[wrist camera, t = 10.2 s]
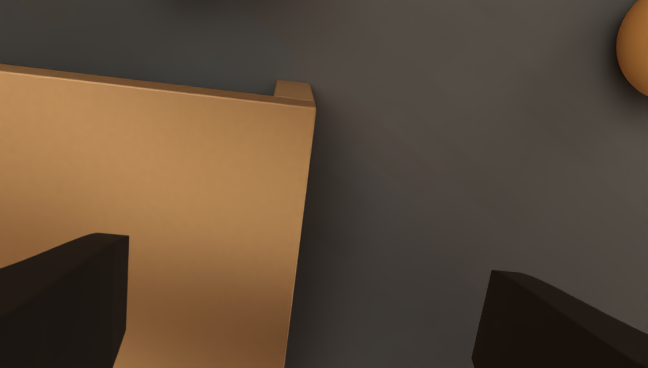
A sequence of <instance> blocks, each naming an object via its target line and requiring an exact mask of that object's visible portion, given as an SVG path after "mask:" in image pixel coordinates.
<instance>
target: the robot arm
mask: <svg viewBox="0 0 648 368" xmlns="http://www.w3.org/2000/svg"><path fill="white" fill-rule="evenodd" d="M128 262H129V235H119V234H108V233H98V232H97V233H92V234H88V235H85V236H82V237H79V238H77V239H74V240H72V241H69V242H67V243H64V244H62V245H59V246H57V247H54V248H52V249H49V250H47V251H44V252H42V253H40V254H37V255H35V256H32V257H30V258H27V259H25V260H22V261H19V262H17V263H14V264H11V265H8V266H6V267H3V268H0V368H113V366H114V363H115V360H116V358H117V355H118V352H119V349H120V346H121V343H122V340H123V337H124V335H125V332H126V319H127V290H128ZM472 361H473V365H474V368H648V334H646V333H644V332H642V331H640V330H638V329H636V328H633V327H631V326H629V325H627V324H625V323H623V322H621V321H619V320H617V319H615V318H613V317H611V316H609V315H607V314H605V313H604V312H602V311H600V310H598V309H596V308H594V307H592V306H590V305H588V304H586V303H584V302H583V301H581V300H579V299H577V298H575V297H573V296H571V295H569V294H567V293H565V292H563V291H562V290H560V289H558V288H556V287H554V286H552V285H550V284H548V283H545V282H543V281H541V280H539V279H537V278H534V277H532V276H529V275H526V274H523V273H518V272H507V271H497V270H492V271H491V275H490V280H489V284H488V288H487V293H486V297H485V301H484V306H483V310H482V314H481V319H480V323H479V327H478V332H477V336H476V341H475V345H474V349H473V354H472Z"/></svg>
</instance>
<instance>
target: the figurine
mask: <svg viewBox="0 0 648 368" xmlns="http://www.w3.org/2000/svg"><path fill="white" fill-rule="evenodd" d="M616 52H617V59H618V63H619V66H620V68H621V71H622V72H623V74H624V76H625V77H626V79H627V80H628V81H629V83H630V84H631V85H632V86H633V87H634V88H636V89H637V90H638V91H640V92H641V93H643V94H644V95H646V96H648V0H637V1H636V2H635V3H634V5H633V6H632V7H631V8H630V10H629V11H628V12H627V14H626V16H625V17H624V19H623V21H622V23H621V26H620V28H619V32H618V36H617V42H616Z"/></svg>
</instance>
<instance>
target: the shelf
mask: <svg viewBox="0 0 648 368" xmlns="http://www.w3.org/2000/svg"><path fill="white" fill-rule="evenodd" d="M315 117H316V106H315V102H314V98H313V94H312V90H311V86H310V84H308V83H300V82H292V81H284V80H277V81H276V85H275V91H274V96H268V95H260V94H251V93H243V92H234V91H226V90H217V89H209V88H201V87H192V86H184V85H175V84H167V83H158V82H150V81H142V80H133V79H125V78H116V77H108V76H99V75H91V74H83V73H74V72H66V71H57V70H49V69H40V68H32V67H23V66H15V65H7V64H0V268H3V267H6V266H8V265H11V264H14V263H17V262H19V261H22V260H25V259H27V258H30V257H32V256H35V255H37V254H40V253H42V252H44V251H47V250H49V249H52V248H54V247H57V246H59V245H62V244H64V243H67V242H69V241H72V240H74V239H77V238H79V237H82V236H85V235H88V234H92V233H97V232H98V233H108V234H119V235H129V262H128V290H127V319H126V332H125V335H124V337H123V340H122V343H121V346H120V349H119V352H118V355H117V358H116V360H115V363H114V366H113V368H284V366H285V358H286V350H287V341H288V333H289V325H290V317H291V309H292V301H293V293H294V285H295V277H296V269H297V261H298V253H299V245H300V237H301V229H302V221H303V213H304V205H305V197H306V189H307V181H308V173H309V165H310V157H311V149H312V141H313V133H314V125H315Z"/></svg>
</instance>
